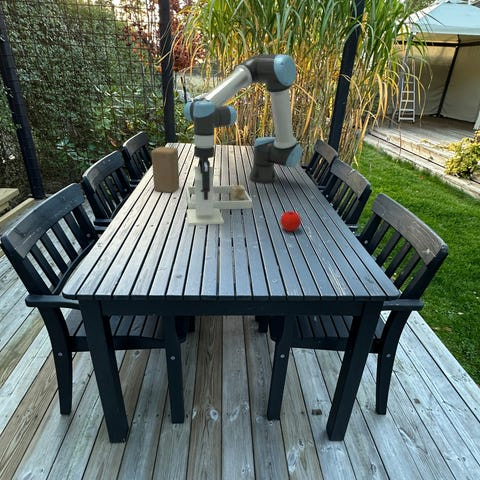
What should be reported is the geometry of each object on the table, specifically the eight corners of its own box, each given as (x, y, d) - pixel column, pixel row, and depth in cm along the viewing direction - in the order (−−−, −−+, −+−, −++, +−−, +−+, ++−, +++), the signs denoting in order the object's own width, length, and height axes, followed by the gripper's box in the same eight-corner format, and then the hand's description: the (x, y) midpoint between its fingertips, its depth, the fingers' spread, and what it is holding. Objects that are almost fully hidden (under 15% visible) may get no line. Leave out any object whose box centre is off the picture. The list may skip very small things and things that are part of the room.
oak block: (240, 201, 158) (241, 185, 154) (244, 205, 154) (245, 188, 150) (230, 202, 156) (230, 186, 153) (234, 206, 152) (234, 189, 149)
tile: (218, 210, 147) (218, 208, 147) (223, 223, 135) (223, 221, 135) (186, 211, 145) (186, 209, 144) (188, 225, 132) (188, 223, 132)
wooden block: (172, 193, 164) (170, 152, 155) (153, 191, 165) (150, 150, 156) (180, 187, 173) (178, 147, 163) (161, 185, 174) (159, 146, 165)
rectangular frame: (241, 192, 170) (242, 185, 168) (251, 208, 151) (252, 201, 149) (186, 193, 165) (185, 186, 163) (188, 210, 146) (188, 203, 144)
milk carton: (195, 208, 142) (195, 164, 133) (212, 209, 142) (213, 164, 134) (195, 215, 135) (194, 169, 127) (213, 215, 136) (213, 169, 127)
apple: (278, 224, 137) (280, 207, 133) (298, 225, 137) (300, 208, 133) (280, 233, 130) (282, 215, 126) (300, 234, 129) (303, 216, 126)
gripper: (192, 140, 134) (193, 194, 145) (196, 152, 117) (197, 213, 127) (210, 140, 136) (210, 194, 146) (217, 152, 118) (217, 212, 129)
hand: (204, 202), depth 137 cm, fingers closed on milk carton, 7 cm apart
